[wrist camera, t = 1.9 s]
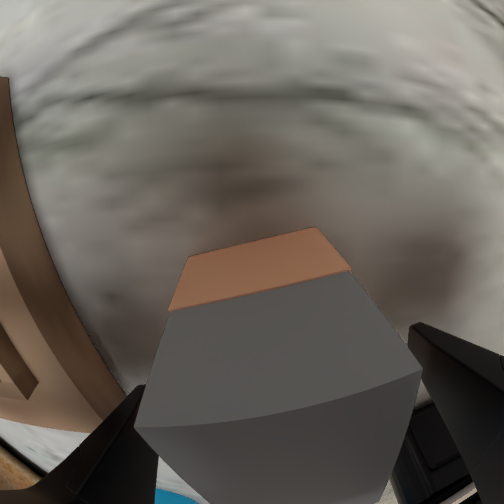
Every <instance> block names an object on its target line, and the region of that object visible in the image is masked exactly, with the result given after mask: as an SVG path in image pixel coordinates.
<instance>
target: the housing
mask: <svg viewBox="0 0 504 504" xmlns="http://www.w3.org/2000/svg"><path fill="white" fill-rule="evenodd" d="M168 311H169V313H170V314H169V317H168V320H167V323H166V326H165V329H164V332H163V335H162V337H161V340H160V343H159V346H158V349H157V352H156V355H155V359H154V362H153V365H152V368H151V371H150V374H149V377H148V380H147V384H146V387H145V390H144V393H143V397H142V400H141V403H140V407H139V410H138V414H137V417H136V421H135V424H134V428H135V430H136V431H137V432H138V433H139V434H140V435H141V437H142V438H143V439H144V440H145V441H146V442H147V443H148V444H149V446H150V447H151V448H152V449H153V450H154V451H155V452H156V453H157V454H158V455H159V456H160V457H161V458H162V459H163V460H164V461H165V462H166V463H167V464H168V465H169V466H170V467H171V468H172V469H173V470H174V471H175V472H176V473H177V474H178V475H179V476H180V477H181V478H182V479H183V480H184V481H185V482H186V483H187V484H188V485H190V486H191V487H192V488H193V489H194V490H195V491H196V492H197V493H199V494H200V495H201V496H202V497H203V498H204V499H206V500H207V501H208V502H209V503H210V504H374V503H377V502H379V500H380V498H381V496H382V494H383V492H384V489H385V487H386V485H387V482H388V480H389V478H390V475H391V473H392V470H393V468H394V465H395V463H396V460H397V457H398V455H399V452H400V449H401V446H402V443H403V441H404V438H405V435H406V431H407V428H408V425H409V422H410V418H411V415H412V411H413V408H414V404H415V400H416V397H417V393H418V388H419V384H420V380H421V375H422V371H423V368H422V367H421V365H420V364H419V362H418V361H417V359H416V358H415V357H414V355H413V354H412V352H411V351H410V350H409V348H408V347H407V345H406V344H405V343H404V341H403V340H402V338H401V337H400V336H399V334H398V333H397V332H396V330H395V329H394V327H393V326H392V325H391V323H390V322H389V321H388V319H387V318H386V317H385V315H384V314H383V313H382V311H381V310H380V309H379V307H378V306H377V305H376V304H375V302H374V301H373V300H372V298H371V297H370V296H369V294H368V293H367V292H366V291H365V289H364V288H363V287H362V286H361V284H360V283H359V282H358V280H357V279H356V278H355V277H354V275H353V274H352V272H351V267H350V266H349V265H348V264H347V262H346V261H345V260H344V259H343V258H342V256H341V255H340V254H339V253H338V252H337V251H336V249H335V248H334V247H333V246H332V245H331V244H330V242H329V241H328V240H327V239H326V238H325V237H324V236H323V234H322V233H321V232H320V231H319V230H318V229H317V228H316V227H313V228H309V229H304V230H300V231H296V232H291V233H287V234H283V235H278V236H274V237H270V238H266V239H261V240H257V241H253V242H249V243H244V244H240V245H236V246H232V247H228V248H223V249H219V250H215V251H211V252H207V253H202V254H198V255H194V256H190V257H188V259H187V262H186V264H185V267H184V270H183V272H182V275H181V277H180V280H179V282H178V285H177V287H176V290H175V293H174V295H173V298H172V301H171V303H170V306H169V309H168Z"/></svg>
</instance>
